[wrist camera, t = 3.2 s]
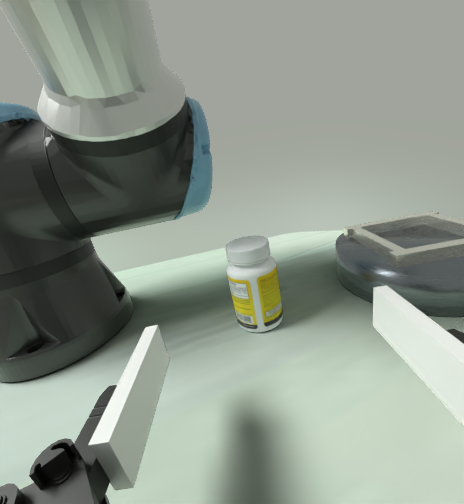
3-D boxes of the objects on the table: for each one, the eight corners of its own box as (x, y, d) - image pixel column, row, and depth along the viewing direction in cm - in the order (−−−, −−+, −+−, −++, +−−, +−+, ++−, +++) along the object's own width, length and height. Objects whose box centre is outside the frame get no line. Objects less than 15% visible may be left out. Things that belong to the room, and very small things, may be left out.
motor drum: (386, 330, 20) (388, 275, 19) (318, 259, 35) (315, 225, 34) (584, 297, 20) (606, 237, 18) (429, 239, 35) (432, 203, 33)
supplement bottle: (280, 302, 27) (270, 231, 24) (287, 330, 23) (276, 247, 20) (237, 308, 28) (223, 238, 25) (236, 336, 23) (218, 256, 20)
